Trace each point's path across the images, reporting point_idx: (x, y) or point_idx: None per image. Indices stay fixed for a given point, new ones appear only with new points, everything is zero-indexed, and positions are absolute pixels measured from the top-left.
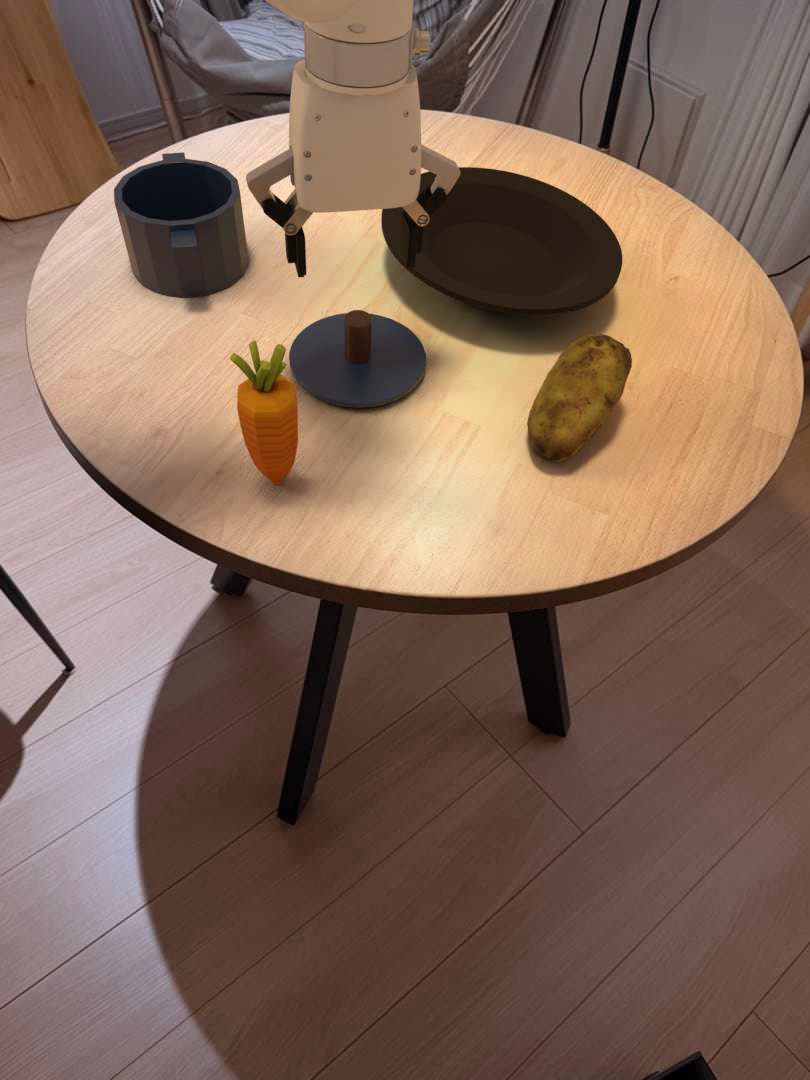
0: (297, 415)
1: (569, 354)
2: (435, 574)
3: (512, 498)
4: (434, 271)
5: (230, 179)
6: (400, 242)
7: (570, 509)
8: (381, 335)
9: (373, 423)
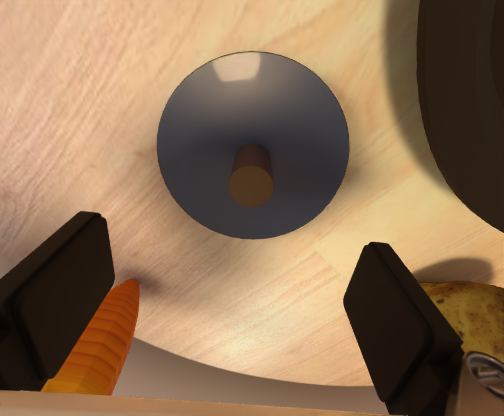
0: (114, 386)
1: (473, 341)
2: (236, 363)
3: (319, 336)
4: (461, 80)
5: None
6: (373, 263)
7: (354, 351)
8: (301, 130)
9: (239, 244)
